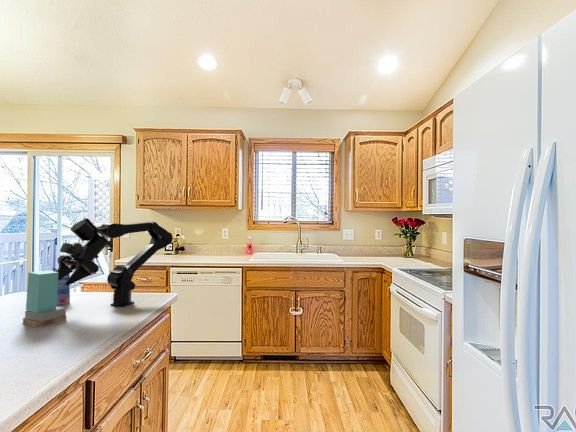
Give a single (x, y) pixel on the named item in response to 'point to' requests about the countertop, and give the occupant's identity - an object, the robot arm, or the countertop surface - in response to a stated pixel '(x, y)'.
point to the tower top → (46, 314)
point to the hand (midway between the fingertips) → (59, 283)
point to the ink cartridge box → (63, 290)
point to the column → (42, 291)
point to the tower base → (40, 324)
